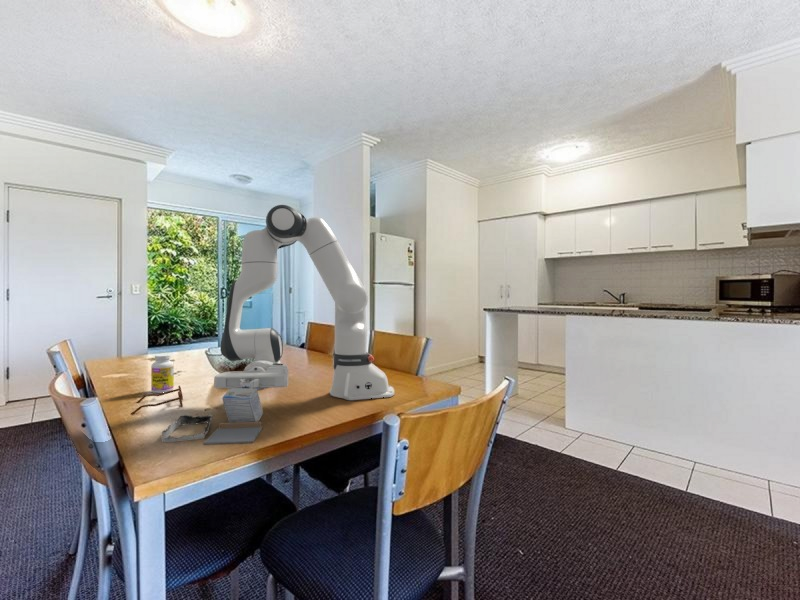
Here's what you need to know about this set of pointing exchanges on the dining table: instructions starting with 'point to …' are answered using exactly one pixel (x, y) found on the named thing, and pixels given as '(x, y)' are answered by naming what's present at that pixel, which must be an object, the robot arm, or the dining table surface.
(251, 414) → the medicine box
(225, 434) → the tip mat
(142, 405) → the glasses
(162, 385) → the supplement bottle
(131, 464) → the dining table surface
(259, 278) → the robot arm
